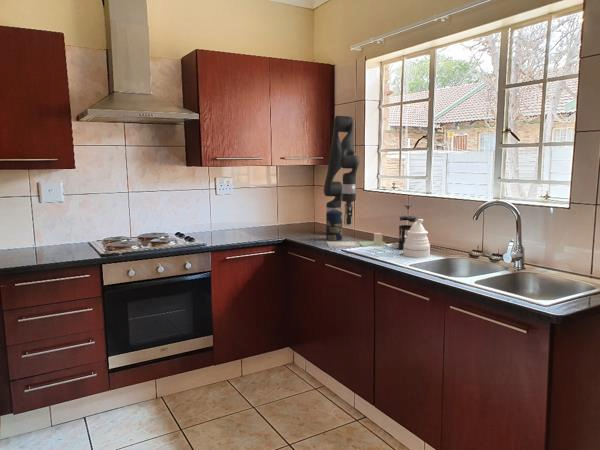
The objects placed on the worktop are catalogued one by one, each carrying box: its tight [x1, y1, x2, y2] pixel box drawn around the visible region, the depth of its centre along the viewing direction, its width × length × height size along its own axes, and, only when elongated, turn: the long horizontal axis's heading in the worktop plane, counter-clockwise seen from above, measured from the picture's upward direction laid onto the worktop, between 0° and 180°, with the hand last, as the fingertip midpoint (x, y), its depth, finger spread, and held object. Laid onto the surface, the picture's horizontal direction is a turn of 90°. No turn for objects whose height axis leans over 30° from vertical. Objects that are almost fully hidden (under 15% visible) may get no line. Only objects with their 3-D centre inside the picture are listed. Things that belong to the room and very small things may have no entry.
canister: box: [325, 210, 343, 242], centre depth 280 cm, size 10×10×18 cm
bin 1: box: [326, 241, 361, 248], centre depth 264 cm, size 12×17×1 cm
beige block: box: [343, 213, 354, 227], centre depth 263 cm, size 4×4×6 cm
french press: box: [397, 205, 417, 251], centre depth 253 cm, size 12×9×23 cm
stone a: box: [373, 232, 383, 245], centre depth 264 cm, size 4×4×6 cm
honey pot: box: [402, 218, 431, 259], centre depth 236 cm, size 13×13×18 cm
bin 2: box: [357, 240, 389, 248], centre depth 265 cm, size 12×14×1 cm
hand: (348, 223), depth 263 cm, fingers closed on beige block, 4 cm apart
